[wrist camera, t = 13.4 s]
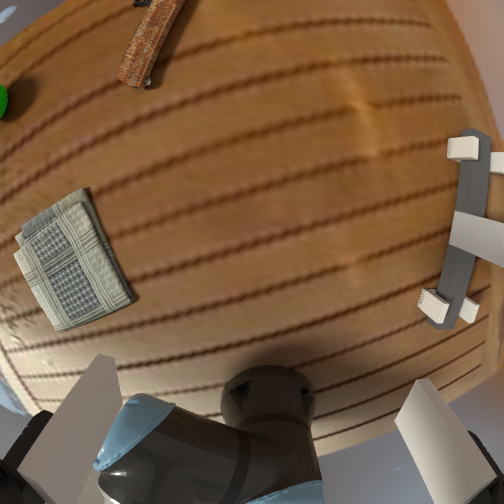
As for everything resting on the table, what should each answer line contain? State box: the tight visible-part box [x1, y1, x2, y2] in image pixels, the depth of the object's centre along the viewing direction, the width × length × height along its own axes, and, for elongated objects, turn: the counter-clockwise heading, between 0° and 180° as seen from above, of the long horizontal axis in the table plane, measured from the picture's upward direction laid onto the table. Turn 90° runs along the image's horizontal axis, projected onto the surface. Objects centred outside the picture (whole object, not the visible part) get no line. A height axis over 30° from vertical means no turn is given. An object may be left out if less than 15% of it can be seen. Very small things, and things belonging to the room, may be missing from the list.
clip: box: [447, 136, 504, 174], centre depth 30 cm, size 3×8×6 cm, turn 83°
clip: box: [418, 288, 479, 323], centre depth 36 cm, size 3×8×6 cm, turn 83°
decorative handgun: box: [116, 0, 185, 90], centre depth 26 cm, size 3×28×15 cm
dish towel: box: [14, 188, 134, 333], centre depth 36 cm, size 19×18×3 cm
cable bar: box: [427, 129, 504, 329], centre depth 29 cm, size 30×4×12 cm, turn 173°
